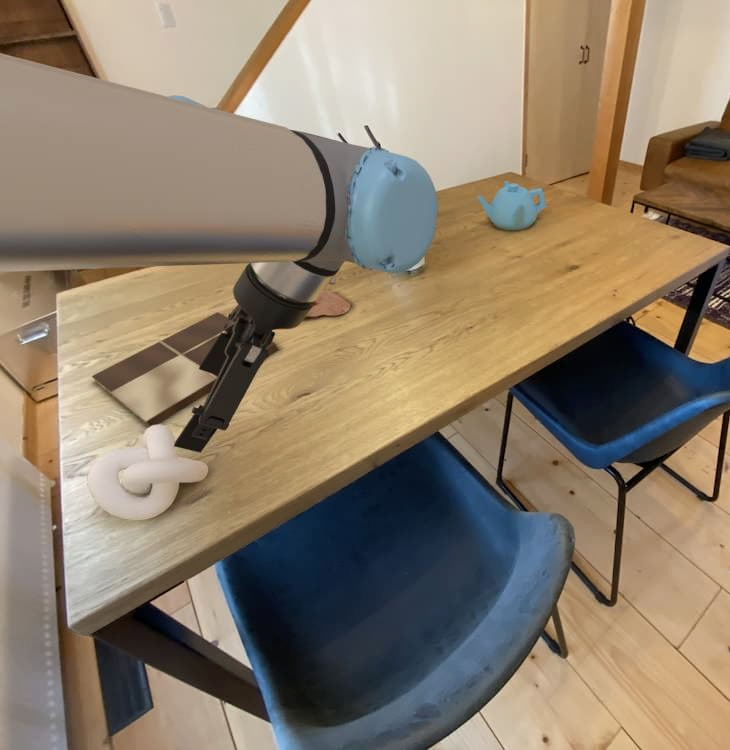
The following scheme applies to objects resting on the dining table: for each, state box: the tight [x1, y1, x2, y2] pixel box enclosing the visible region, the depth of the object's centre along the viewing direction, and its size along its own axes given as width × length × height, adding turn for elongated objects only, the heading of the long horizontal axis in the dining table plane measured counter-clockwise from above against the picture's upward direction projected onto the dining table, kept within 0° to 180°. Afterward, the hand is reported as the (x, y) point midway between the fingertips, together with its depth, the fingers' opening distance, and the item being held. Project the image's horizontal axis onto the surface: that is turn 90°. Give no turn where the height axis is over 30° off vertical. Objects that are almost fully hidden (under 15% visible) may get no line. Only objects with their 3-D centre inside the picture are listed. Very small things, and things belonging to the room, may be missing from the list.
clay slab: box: [306, 288, 352, 318], centre depth 95 cm, size 15×13×3 cm
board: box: [91, 312, 279, 427], centre depth 82 cm, size 24×20×2 cm
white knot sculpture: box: [86, 423, 209, 521], centre depth 59 cm, size 11×12×9 cm
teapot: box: [477, 180, 547, 231], centre depth 125 cm, size 15×15×11 cm
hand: (200, 406), depth 55 cm, fingers open, 13 cm apart
